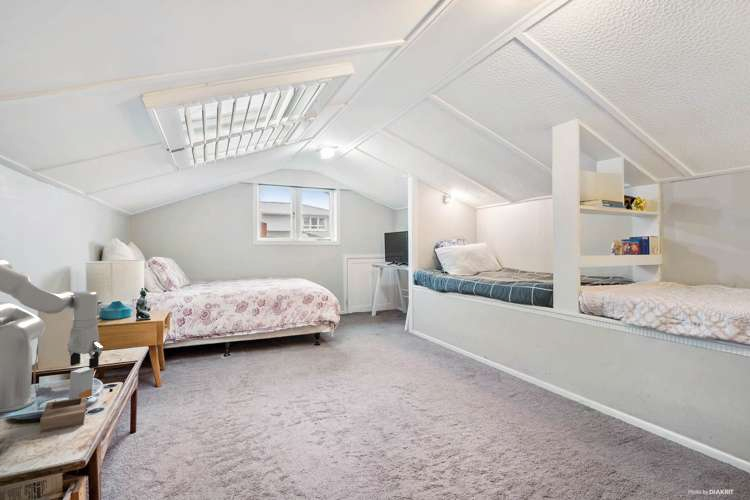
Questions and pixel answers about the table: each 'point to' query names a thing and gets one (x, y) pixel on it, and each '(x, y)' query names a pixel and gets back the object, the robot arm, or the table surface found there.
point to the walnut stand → (63, 414)
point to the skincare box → (81, 383)
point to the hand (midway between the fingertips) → (84, 366)
